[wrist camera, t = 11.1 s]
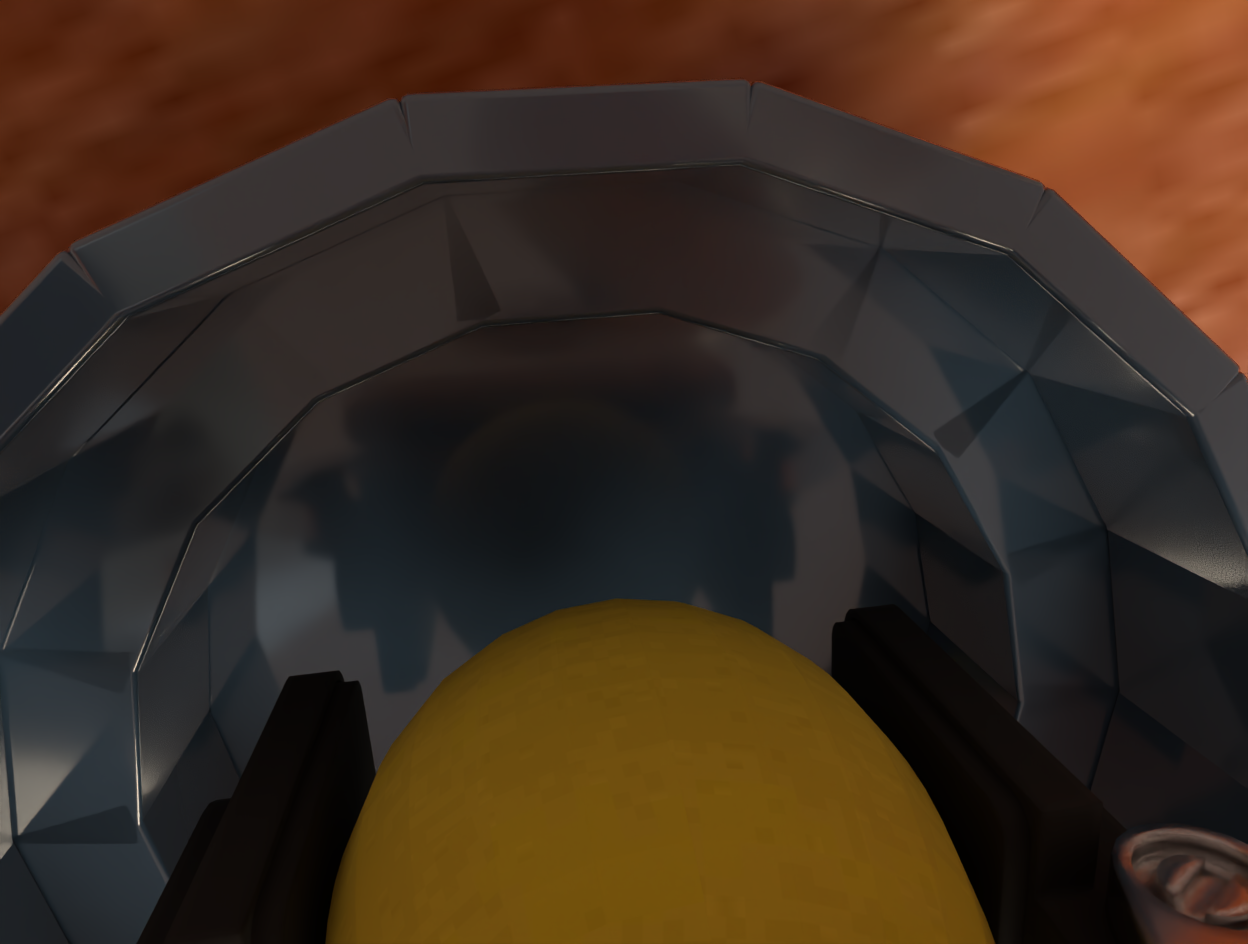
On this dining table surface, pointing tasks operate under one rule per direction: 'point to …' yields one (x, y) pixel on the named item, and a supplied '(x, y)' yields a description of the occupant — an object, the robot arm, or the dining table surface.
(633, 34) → the dining table surface
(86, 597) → the bowl
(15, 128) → the dining table surface
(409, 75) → the dining table surface
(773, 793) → the lemon
